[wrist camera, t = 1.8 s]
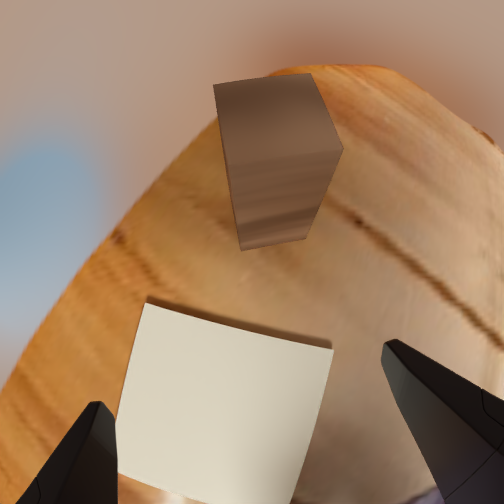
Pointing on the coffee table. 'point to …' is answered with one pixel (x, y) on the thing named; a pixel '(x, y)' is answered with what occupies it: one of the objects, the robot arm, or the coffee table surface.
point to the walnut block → (276, 155)
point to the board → (217, 409)
